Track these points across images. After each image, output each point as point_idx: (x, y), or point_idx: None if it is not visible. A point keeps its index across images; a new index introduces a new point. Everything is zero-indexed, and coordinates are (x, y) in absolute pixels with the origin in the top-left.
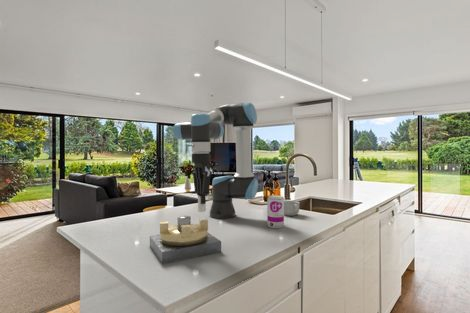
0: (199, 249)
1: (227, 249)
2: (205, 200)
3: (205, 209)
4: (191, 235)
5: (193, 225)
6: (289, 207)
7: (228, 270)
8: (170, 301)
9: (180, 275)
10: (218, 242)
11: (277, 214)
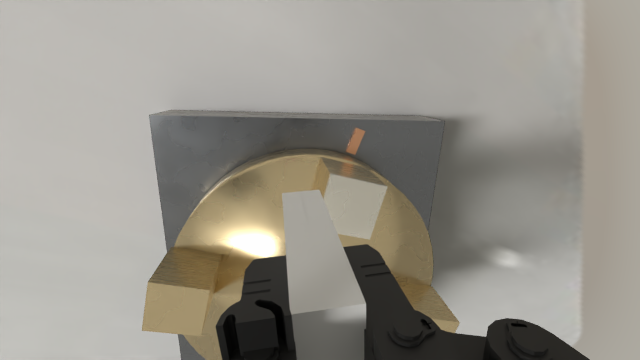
0: None
1: (410, 74)
2: (388, 270)
3: (321, 200)
4: (419, 279)
5: (237, 216)
6: None
7: (562, 170)
8: (578, 335)
9: (493, 296)
10: (440, 136)
11: None
